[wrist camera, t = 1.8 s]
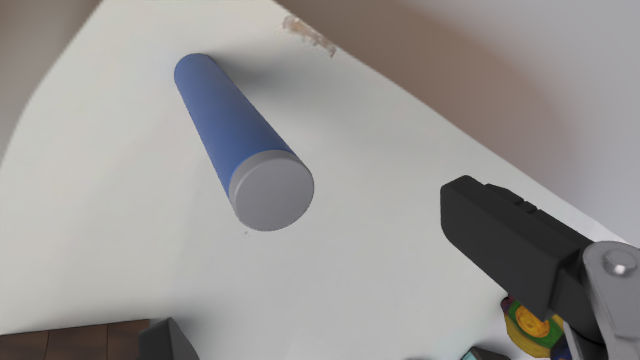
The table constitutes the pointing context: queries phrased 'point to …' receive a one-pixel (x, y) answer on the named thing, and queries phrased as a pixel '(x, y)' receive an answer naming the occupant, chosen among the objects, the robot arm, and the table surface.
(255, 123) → the handle
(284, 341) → the table surface
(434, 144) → the table surface
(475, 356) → the camera
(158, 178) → the table surface
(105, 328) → the holder
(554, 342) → the figurine
